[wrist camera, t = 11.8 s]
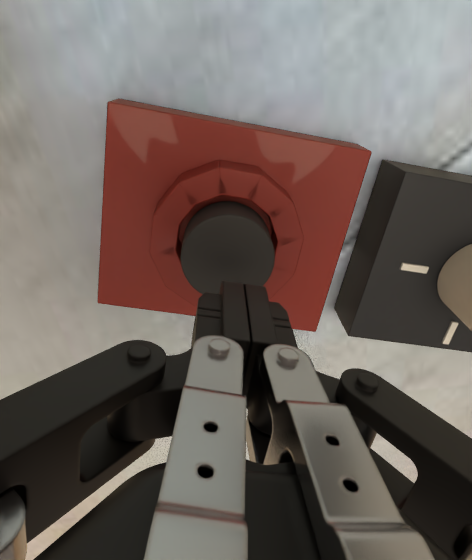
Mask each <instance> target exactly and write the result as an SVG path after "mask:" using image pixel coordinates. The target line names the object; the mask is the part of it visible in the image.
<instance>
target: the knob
mask: <svg viewBox="0 0 472 560" xmlns="http://www.w3.org/2000/svg"><path fill="white" fill-rule="evenodd" d="M437 288H438V294H439V296H440V299H441V300H442V301H443V303H444V304H445V305H446V306H447V307H448V308H449V309H450V310H451V311H452V312H453V313H454V314H455V315H456V316H457V317H458V318H459V319H460V320H461V321H462V322H463V323H464V324H465V325H466V326H467V327H468V328H469V329H470V330H471V331H472V244H470V245H468V246H465V247H464V248H462V249H460V250H459V251H457V252H456V253H455V254H453V255H452V256H451V257H450V258H449V259H448V260H447V262H446V263H445V264H444V266H443V268H442V269H441V272H440V274H439V277H438V282H437Z"/></svg>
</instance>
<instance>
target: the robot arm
mask: <svg viewBox="0 0 472 560" xmlns="http://www.w3.org/2000/svg"><path fill="white" fill-rule="evenodd" d="M246 408H247V409H248V415H247V419H246ZM377 433H378V434H379V435H381V436H382V437H383V438H384V439H386V440H387V441H388V442H390V443H391V444H392V445H393V446H395V447H396V448H397V449H399V450H400V451H401V452H402V453H404V454H405V455H406V456H408V457H409V458H410V459H411V460H412V461H413V463H414V464H415V466H416V468H417V471H418V477H417V480H416V482H415V483H413V482H412V481H410V480H409V479H408V478H407V477H405V476H404V475H403V474H402V473H400V472H399V471H398V470H397V469H395V468H394V467H393V466H392V465H391V464H389V463H388V462H387V461H386V460H384V459H383V458H382V457H381V456H380V455H378V454H377V453H376V452H375V451H373V450H372V449H371V448H370V447H371V445H372V443H373V440H374V438H375V436H376V434H377ZM169 436H172V440H171V444H170V448H169V453H168V457H167V462H166V463H162V464H158V465H155V466H152V467H149V468H147V469H145V470H143V471H141V472H139V473H137V474H135V475H134V476H132V477H131V478H129V479H128V480H127V481H125V482H124V483H123V484H121V485H120V486H119V487H118V488H117V489H116V490H114V491H113V492H112V493H111V494H110V495H109V496H107V497H106V498H105V499H104V500H103V501H102V502H100V503H99V504H98V505H97V506H96V507H95V508H93V509H92V510H91V511H90V512H89V513H88V514H86V515H85V516H84V517H83V518H82V519H81V520H79V521H78V522H77V523H76V524H75V525H73V526H72V527H71V528H70V529H69V530H68V531H66V532H65V533H64V534H63V535H62V536H61V537H59V538H58V539H57V540H56V541H55V542H54V543H52V544H51V545H50V546H49V547H48V548H47V549H45V550H44V551H43V552H42V553H41V554H39V555H38V556H37V557H36V558H35V559H34V560H472V439H471V438H470V437H468V436H467V435H465V434H464V433H462V432H461V431H459V430H458V429H456V428H455V427H454V426H452V425H451V424H449V423H448V422H446V421H445V420H443V419H442V418H440V417H439V416H437V415H436V414H434V413H433V412H431V411H430V410H428V409H427V408H425V407H424V406H422V405H421V404H419V403H418V402H417V401H415V400H414V399H412V398H411V397H409V396H408V395H406V394H405V393H403V392H402V391H400V390H399V389H397V388H396V387H394V386H393V385H391V384H390V383H388V382H387V381H385V380H384V379H383V378H381V377H379V376H378V375H376V374H374V373H372V372H369V371H366V370H363V369H348V370H346V371H344V372H343V373H342V375H341V378H340V379H337V378H334V377H331V376H328V375H325V374H322V373H320V372H318V371H316V370H315V368H314V365H313V363H312V361H311V359H310V357H309V356H308V355H307V354H306V353H305V352H303V351H302V350H300V349H298V347H297V344H296V340H295V337H294V333H293V330H292V329H291V323H290V322H289V316H288V313H287V311H286V310H285V309H284V308H283V307H282V305H281V304H280V303H278V302H271V301H269V299H268V294H267V290H266V287H264V286H257V285H250V284H244V285H243V283H236V282H229V281H223V280H222V282H221V286H220V291H219V294H214V293H207V292H205V293H204V294H203V295H202V296H201V297H200V298H199V299H198V304H197V310H196V317H195V323H194V329H193V335H192V344H191V349H190V350H188V351H187V352H185V353H182V354H178V355H172V356H166V353H165V352H164V350H163V349H162V348H161V347H160V346H158V345H156V344H154V343H152V342H148V341H143V340H132V341H126V342H123V343H121V344H118V345H116V346H114V347H112V348H110V349H108V350H106V351H103V352H101V353H99V354H97V355H95V356H93V357H91V358H89V359H86V360H84V361H82V362H80V363H78V364H76V365H74V366H71V367H69V368H67V369H65V370H63V371H61V372H59V373H57V374H54V375H52V376H50V377H48V378H46V379H44V380H42V381H40V382H37V383H35V384H33V385H31V386H29V387H27V388H25V389H23V390H20V391H18V392H16V393H14V394H12V395H10V396H8V397H5V398H3V399H1V400H0V560H25V557H26V553H27V543H28V542H29V541H31V540H32V539H33V538H35V537H36V536H37V535H39V534H40V533H41V532H43V531H44V530H45V529H46V528H48V527H49V526H50V525H52V524H53V523H54V522H56V521H57V520H58V519H59V518H61V517H62V516H63V515H65V514H66V513H67V512H69V511H70V510H71V509H73V508H74V507H75V506H76V505H78V504H79V503H80V502H82V501H83V500H84V499H86V498H87V497H88V496H89V495H91V494H92V493H93V492H95V491H96V490H97V489H99V488H100V487H101V486H103V485H104V484H105V483H106V482H108V481H109V480H110V479H112V478H113V477H114V476H116V475H117V474H118V473H119V472H121V471H122V470H123V469H125V468H126V467H127V466H129V465H130V464H131V463H133V462H134V461H135V460H136V459H138V458H139V457H140V456H142V455H143V454H144V453H146V452H147V451H148V450H149V449H150V448H151V447H152V446H153V444H154V442H155V439H157V438H163V437H169ZM246 442H247V447H248V453H249V459H250V461H249V460H246Z"/></svg>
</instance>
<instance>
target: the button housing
mask: <svg viewBox="0 0 472 560" xmlns="http://www.w3.org/2000/svg"><path fill="white" fill-rule="evenodd" d="M370 156H371V151H370V150H368V149H366V148H364V147H362V146H360V145H358V144H354V143H349V142H344V141H339V140H333V139H328V138H323V137H318V136H312V135H307V134H302V133H297V132H291V131H286V130H281V129H276V128H270V127H265V126H260V125H255V124H249V123H244V122H239V121H234V120H228V119H223V118H218V117H213V116H207V115H202V114H197V113H192V112H186V111H181V110H176V109H171V108H165V107H160V106H155V105H150V104H144V103H139V102H134V101H129V100H123V99H116V100H112V101H109V102H108V106H107V126H106V146H105V165H104V185H103V205H102V225H101V245H100V264H99V284H98V303H101V304H109V305H116V306H124V307H131V308H139V309H146V310H154V311H162V312H169V313H177V314H184V315H192V316H196V310H197V304H198V299H199V298H200V297H201V296H202V295H203V294H201V293H199V292H198V291H197V290H196V289H194V288H193V287H192V286H191V285H190V283H189V282H188V281H187V279H186V277H185V275H184V273H183V270H182V266H181V249H182V243H183V237H184V233H185V229H186V227H187V225H188V223H189V221H190V220H191V218H192V217H193V216H194V215H195V214H196V213H197V212H198V211H199V210H201V209H202V208H204V207H206V206H208V205H210V204H213V203H216V202H222V201H231V202H237V203H241V204H244V205H246V206H248V207H250V208H252V209H253V210H254V211H256V212H257V213H258V214H259V215H260V216H261V218H262V219H263V220H264V222H265V224H266V226H267V228H268V231H269V234H270V237H271V240H272V243H273V246H274V251H275V263H274V268H273V271H272V273H271V275H270V277H269V279H268V280H267V282H266V283H265V284H264V285H263V286H264V287H266V290H267V294H268V299H269V301H271V302H278V303H280V304H281V305H282V307H283V308H284V309H285V310H286V311H287V313H288V316H289V322H290V323H291V329H298V330H306V331H313V332H316V329H317V326H318V323H319V319H320V316H321V313H322V310H323V307H324V303H325V300H326V297H327V294H328V291H329V287H330V284H331V281H332V278H333V275H334V271H335V268H336V265H337V262H338V258H339V255H340V252H341V249H342V246H343V242H344V239H345V236H346V233H347V230H348V226H349V223H350V220H351V217H352V213H353V210H354V207H355V204H356V201H357V197H358V194H359V191H360V188H361V185H362V181H363V178H364V175H365V172H366V169H367V165H368V162H369V159H370Z"/></svg>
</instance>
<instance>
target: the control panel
mask: <svg viewBox="0 0 472 560" xmlns="http://www.w3.org/2000/svg"><path fill="white" fill-rule="evenodd" d="M470 244H472V176H469V175H464V174H458V173H453V172H448V171H442V170H437V169H432V168H426V167H421V166H416V165H410V164H405V163H400V162H394V161H389V160H382V163H381V166H380V170H379V173H378V176H377V179H376V182H375V185H374V188H373V191H372V194H371V197H370V200H369V203H368V207H367V210H366V213H365V216H364V219H363V222H362V225H361V228H360V231H359V234H358V237H357V240H356V243H355V247H354V250H353V253H352V256H351V259H350V262H349V265H348V268H347V271H346V274H345V277H344V280H343V284H342V287H341V290H340V293H339V296H338V299H337V302H336V305H335V308H334V309H335V311H336V313H337V315H338V317H339V319H340V321H341V323H342V325H343V326H344V328H345V330H346V332H347V334H348V336H353V337H361V338H368V339H376V340H383V341H391V342H398V343H406V344H414V345H421V346H429V347H436V348H444V349H452V350H459V351H467V352H472V331H471V330H470V329H469V328H468V327H467V326H466V325H465V324H464V323H463V322H462V321H461V320H460V319H459V318H458V317H457V316H456V315H455V314H454V313H453V312H452V311H451V310H450V309H449V308H448V307H447V306H446V305H445V304H444V303H443V301H442V300H441V299H440V296H439V294H438V288H437V282H438V277H439V274H440V272H441V269H442V268H443V266H444V264H445V263H446V262H447V260H448V259H449V258H450V257H451V256H452V255H453V254H455V253H456V252H457V251H459V250H460V249H462V248H464V247H465V246H468V245H470Z"/></svg>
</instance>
